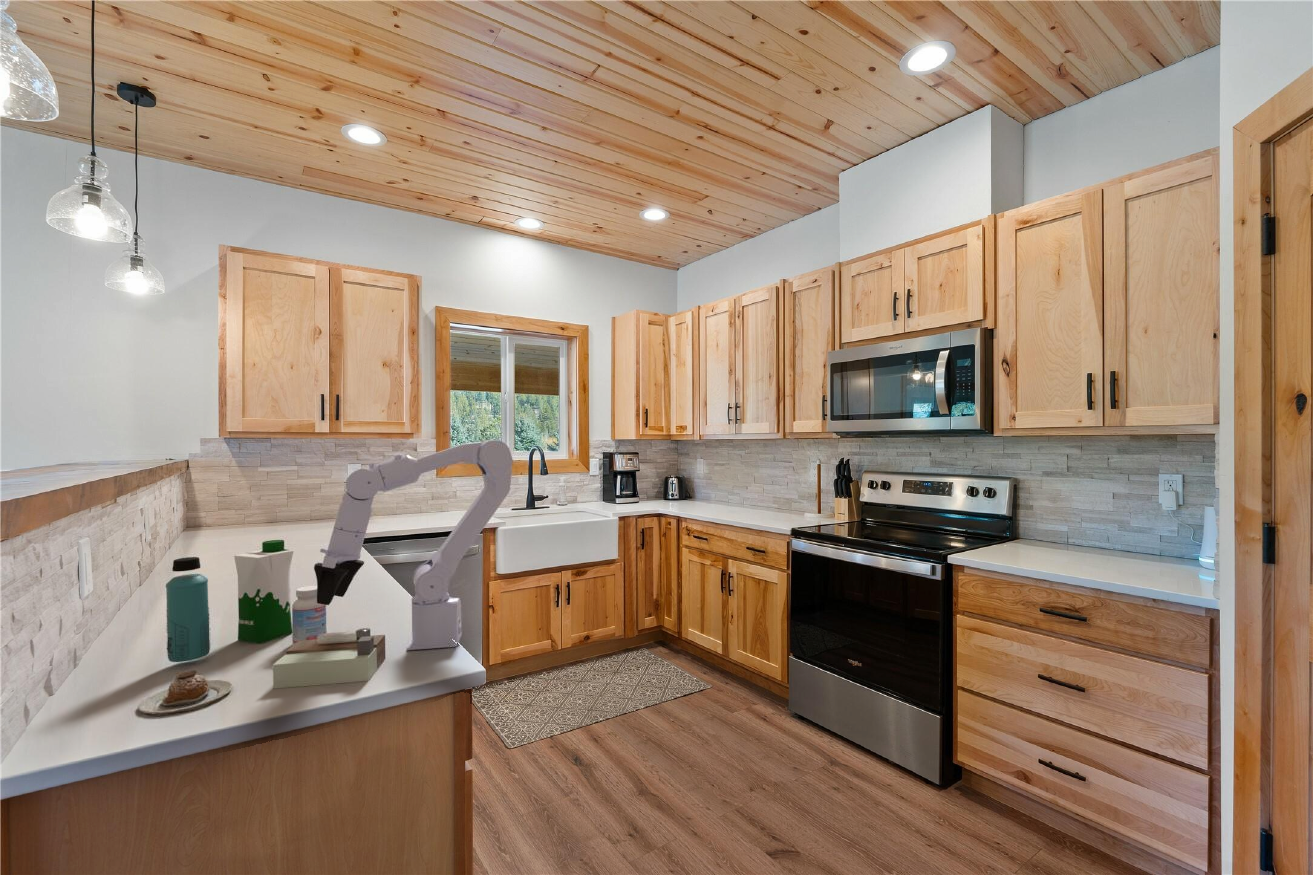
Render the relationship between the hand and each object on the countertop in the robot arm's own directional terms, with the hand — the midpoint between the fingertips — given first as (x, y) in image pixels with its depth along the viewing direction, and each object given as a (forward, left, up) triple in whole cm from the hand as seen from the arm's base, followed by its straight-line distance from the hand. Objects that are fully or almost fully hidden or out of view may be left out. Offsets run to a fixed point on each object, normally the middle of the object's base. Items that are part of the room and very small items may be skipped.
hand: (330, 599), depth 114 cm
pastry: (+17, +15, -12) cm, 25 cm away
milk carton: (+19, -17, -11) cm, 27 cm away
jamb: (-3, +5, -11) cm, 13 cm away
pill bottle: (+8, -11, -11) cm, 17 cm away
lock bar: (-4, +5, -6) cm, 9 cm away
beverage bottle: (+26, -3, -11) cm, 28 cm away
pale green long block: (-3, +11, -11) cm, 16 cm away
